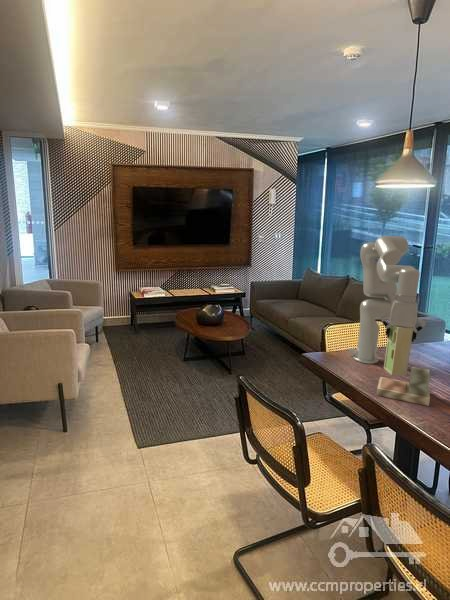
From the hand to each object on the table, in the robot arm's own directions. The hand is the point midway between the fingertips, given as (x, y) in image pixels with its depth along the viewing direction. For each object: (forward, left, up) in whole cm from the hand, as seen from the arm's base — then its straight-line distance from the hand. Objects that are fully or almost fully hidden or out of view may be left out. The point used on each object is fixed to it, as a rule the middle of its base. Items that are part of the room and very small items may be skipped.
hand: (400, 338), depth 177 cm
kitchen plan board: (+4, 0, -24) cm, 24 cm away
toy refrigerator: (-1, +1, -15) cm, 15 cm away
